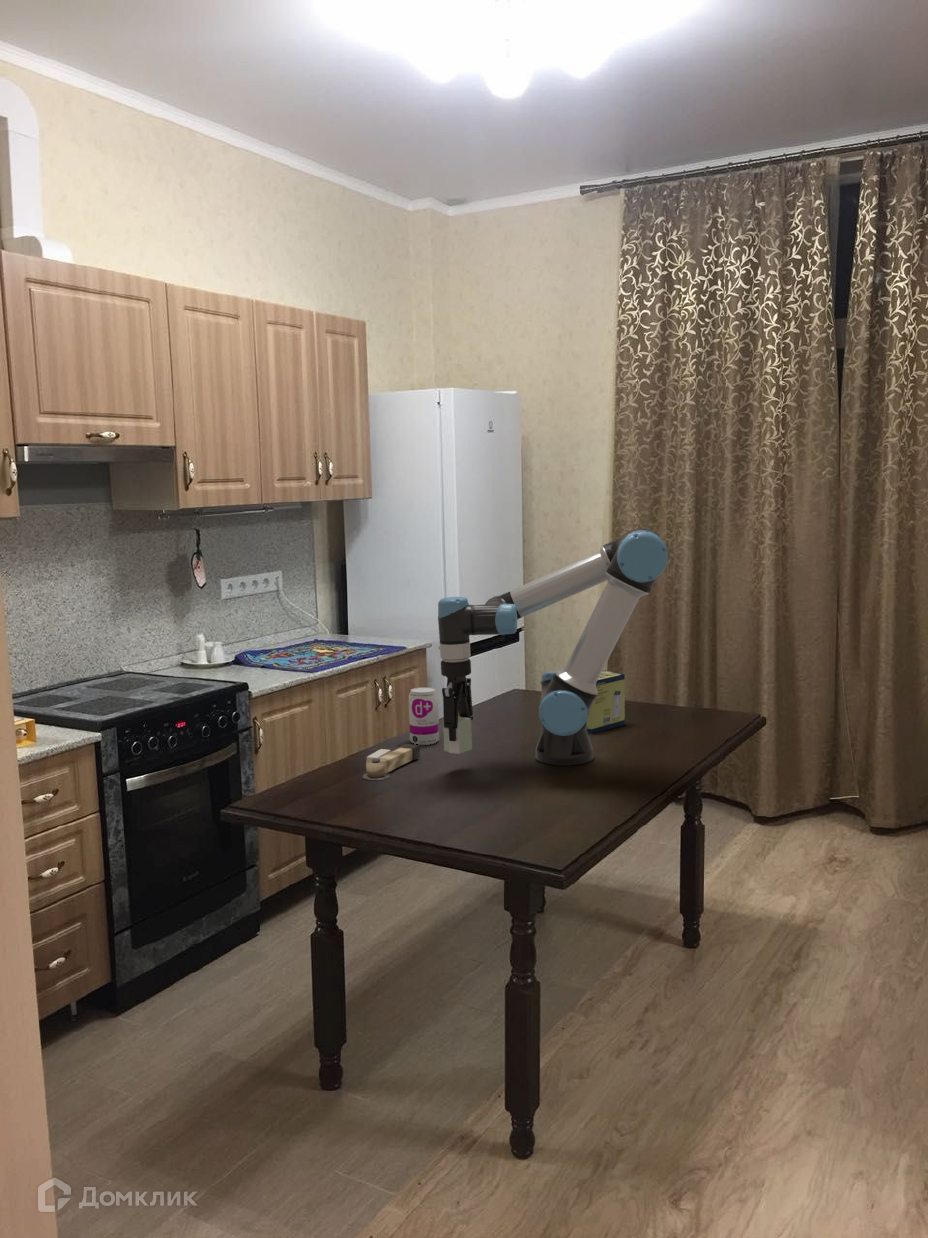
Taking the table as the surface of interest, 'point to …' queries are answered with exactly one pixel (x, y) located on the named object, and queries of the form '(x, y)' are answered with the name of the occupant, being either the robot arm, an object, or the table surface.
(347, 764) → the table surface
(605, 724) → the protein box
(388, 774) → the pivot plate
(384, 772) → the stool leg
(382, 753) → the stop block
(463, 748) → the tall sage green block
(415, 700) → the supplement can
